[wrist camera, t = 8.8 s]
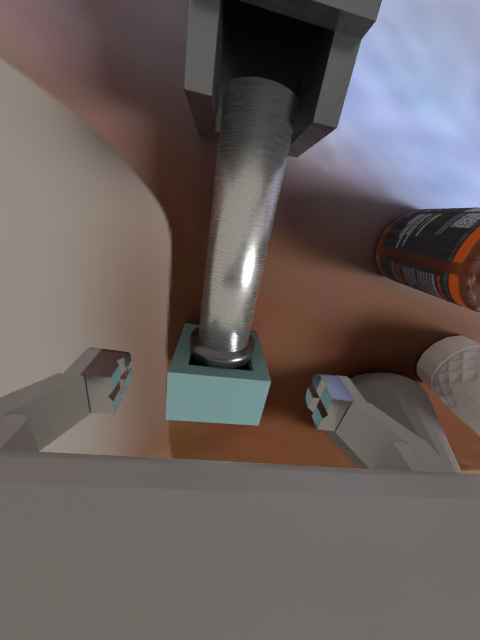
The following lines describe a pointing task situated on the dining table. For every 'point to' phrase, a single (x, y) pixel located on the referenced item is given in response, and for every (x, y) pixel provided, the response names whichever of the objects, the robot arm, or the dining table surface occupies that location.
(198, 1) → the sleeve
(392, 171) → the dining table surface
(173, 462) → the robot arm
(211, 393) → the socket
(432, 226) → the supplement bottle
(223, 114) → the tube
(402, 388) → the coffee pot
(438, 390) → the white cup
